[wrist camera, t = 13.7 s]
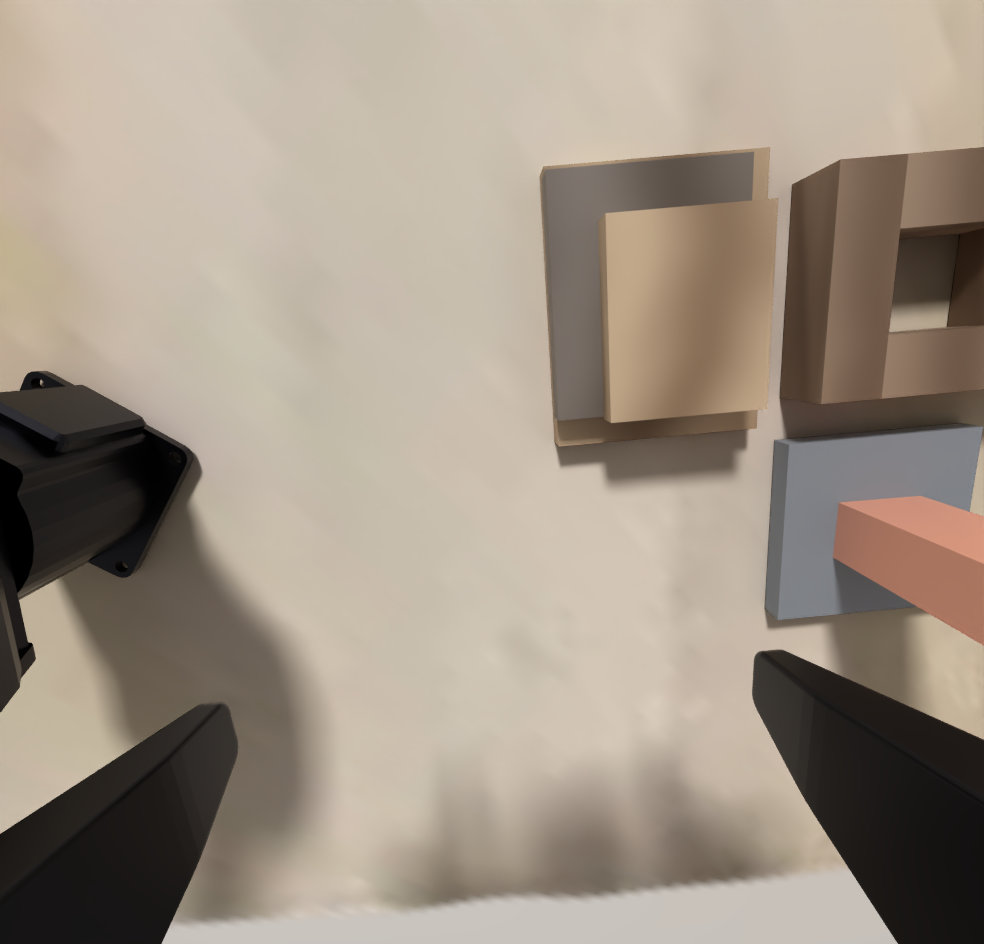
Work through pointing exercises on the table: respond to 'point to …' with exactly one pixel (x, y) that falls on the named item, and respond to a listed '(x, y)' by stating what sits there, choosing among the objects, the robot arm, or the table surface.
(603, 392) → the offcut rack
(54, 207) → the table surface
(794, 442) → the grey mat
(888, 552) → the pink bar
